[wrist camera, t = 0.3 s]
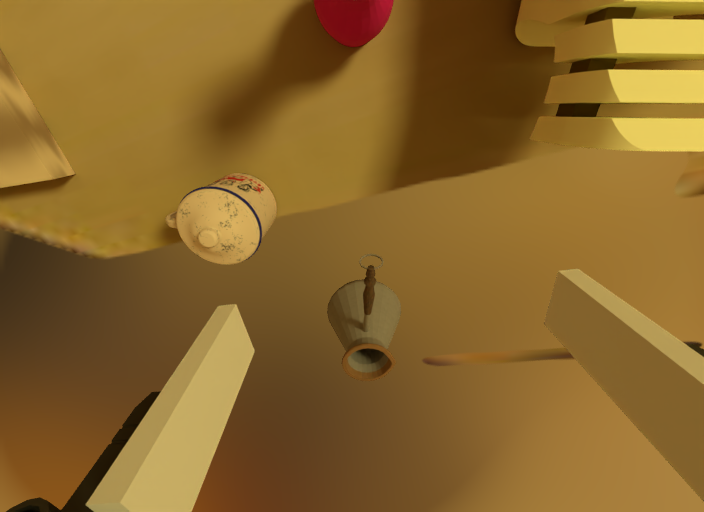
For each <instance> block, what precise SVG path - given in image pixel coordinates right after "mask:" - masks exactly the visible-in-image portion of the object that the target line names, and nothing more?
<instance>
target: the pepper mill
mask: <svg viewBox="0 0 704 512" xmlns="http://www.w3.org/2000/svg"><path fill="white" fill-rule="evenodd" d="M314 5H315V10H316V13H317V16H318V18H319V20H320V22H321V24H322V26H323V27H324V29H325V30H326V31H327V33H328V34H329V35H331V36H332V37H333V38H334V39H335V40H337V41H338V42H339V43H341V44H342V45H345V46H348V47H358V46H362V45H364V44H366V43H367V42H369V41H370V40H372V39H373V38H374V37H375V36H377V35H378V34H379V33H380V31H381V30H382V29H383V27H384V26H385V24H386V22H387V21H388V18H389V16H390V13H391V10H392V6H393V0H314Z"/></svg>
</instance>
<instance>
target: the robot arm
mask: <svg viewBox="0 0 704 512" xmlns="http://www.w3.org/2000/svg"><path fill="white" fill-rule="evenodd" d="M544 324H545V326H546V327H547V328H548V329H549V330H550V331H551V332H552V333H553V335H554V336H555V337H556V338H557V339H558V340H559V341H560V342H561V343H562V345H563V346H564V347H565V348H566V349H567V350H568V351H569V352H570V353H571V355H572V356H573V357H574V358H575V359H576V360H577V361H578V362H579V363H580V365H582V367H583V368H584V369H585V370H586V371H587V372H588V373H589V375H590V376H591V377H592V378H593V379H594V380H595V381H596V382H597V383H598V385H599V386H600V387H601V388H602V389H603V390H604V391H605V392H606V393H607V395H608V396H609V397H610V398H611V399H612V400H613V401H614V402H615V403H616V405H617V406H618V407H619V408H620V409H621V410H622V411H623V412H624V414H625V415H626V416H627V417H628V418H629V419H630V420H631V421H632V422H633V424H634V425H636V427H637V428H638V429H639V430H640V431H641V432H642V433H643V435H644V436H645V437H646V438H647V439H648V440H649V441H650V442H651V444H652V445H654V447H655V448H656V449H657V450H658V451H659V452H660V453H661V455H662V456H663V457H664V458H665V459H666V460H667V461H668V462H669V464H670V465H671V466H672V467H673V468H674V469H675V470H676V471H677V472H678V473H679V475H680V476H681V477H682V478H683V479H684V480H685V481H686V482H687V484H688V485H689V486H690V487H691V488H692V489H693V490H694V491H695V492H696V494H697V495H698V496H699V497H700V498H701V499H702V500H703V501H704V349H701V348H700V347H697V346H695V345H693V344H687V345H686V344H684V343H683V342H681V341H680V340H679V339H677V338H676V337H674V336H673V335H672V334H670V333H669V332H667V331H666V330H664V329H663V328H662V327H660V326H659V325H657V324H656V323H654V322H653V321H652V320H650V319H649V318H647V317H646V316H644V315H643V314H642V313H640V312H639V311H637V310H636V309H635V308H633V307H632V306H630V305H629V304H627V303H626V302H624V301H623V300H622V299H620V298H619V297H617V296H616V295H615V294H613V293H611V292H610V291H609V290H607V289H606V288H605V287H603V286H602V285H600V284H599V283H597V282H596V281H595V280H593V279H592V278H590V277H589V276H588V275H586V274H585V273H583V272H582V271H581V270H579V269H572V270H563V271H558V273H557V277H556V281H555V285H554V288H553V292H552V296H551V300H550V303H549V307H548V311H547V314H546V318H545V322H544ZM253 354H254V348H253V346H252V343H251V341H250V338H249V335H248V333H247V331H246V328H245V326H244V323H243V320H242V318H241V315H240V313H239V310H238V308H237V305H236V304H231V305H222V306H218V307H217V309H216V310H215V312H214V313H213V315H212V316H211V318H210V319H209V321H208V322H207V324H206V325H205V327H204V328H203V330H202V331H201V333H200V334H199V336H198V337H197V339H196V340H195V342H194V343H193V345H192V346H191V348H190V349H189V351H188V352H187V354H186V355H185V357H184V358H183V360H182V361H181V363H180V364H179V366H178V367H177V369H176V370H175V371H174V373H173V374H172V376H171V377H170V379H169V380H168V382H167V383H166V385H165V387H164V388H163V389H162V391H161V392H152V393H151V394H150V395H149V396H147V397H146V398H145V399H144V400H143V401H142V402H141V403H140V404H139V405H138V406H137V407H135V409H134V410H133V411H132V413H131V414H130V416H129V417H128V418H127V420H126V421H125V423H124V424H123V428H122V429H120V430H119V431H118V432H117V434H116V435H115V437H114V438H113V440H112V443H111V444H109V445H108V447H107V448H106V449H105V450H104V452H103V453H102V455H101V456H100V457H99V459H98V460H97V462H96V463H95V464H94V466H93V467H92V469H91V470H90V471H89V473H88V474H87V476H86V477H85V478H84V480H83V481H82V482H81V484H80V485H79V487H78V488H77V490H76V491H75V492H74V494H73V495H72V496H71V498H70V499H69V501H68V502H67V503H66V505H65V506H64V507H63V509H62V510H59V509H58V508H57V507H55V506H54V505H52V504H51V503H50V502H48V501H47V500H44V499H42V498H35V499H30V500H26V501H24V502H22V503H20V504H18V505H16V506H14V507H12V508H11V509H9V510H8V511H6V512H191V511H192V509H193V506H194V504H195V501H196V499H197V496H198V494H199V491H200V489H201V486H202V483H203V480H204V478H205V476H206V473H207V471H208V468H209V466H210V463H211V460H212V458H213V456H214V453H215V450H216V447H217V445H218V443H219V440H220V438H221V435H222V433H223V430H224V428H225V425H226V423H227V420H228V417H229V414H230V412H231V410H232V407H233V404H234V402H235V400H236V397H237V394H238V392H239V389H240V387H241V384H242V382H243V379H244V377H245V374H246V372H247V369H248V367H249V364H250V362H251V359H252V356H253Z"/></svg>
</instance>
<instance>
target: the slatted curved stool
mask: <svg viewBox="0 0 704 512" xmlns="http://www.w3.org/2000/svg"><path fill="white" fill-rule="evenodd" d="M694 14H704V0H521V5H520V9H519V14H518V18H517V23H516V27H515V33H516V37H517V38H518V40H519V41H520V42H521V43H523V44H525V45H527V46H542V47H555V56H554V63H572V66H571V69H570V72H569V74H565V75H559V76H553V77H551V79H550V83H549V87H548V91H547V94H546V97H545V100H544V104H559V107H558V111H557V114H556V116H539V117H538V120H537V122H536V125H535V127H534V130H533V132H532V134H531V137H530V139H529V140H534V141H540V142H546V143H552V144H558V145H566V146H574V147H585V148H596V149H611V150H612V149H613V150H631V151H704V118H634V117H596V114H597V112H598V109H599V106H600V104H704V70H613V69H614V66H615V63H632V62H649V61H676V60H704V20H679V19H673V17H674V16H677V15H694Z"/></svg>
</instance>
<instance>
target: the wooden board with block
mask: <svg viewBox="0 0 704 512" xmlns="http://www.w3.org/2000/svg"><path fill="white" fill-rule="evenodd" d="M74 174H75V172H74V171H73V169H72V167H71V166H70V164H69V162H68V161H67V159H66V157H65V156H64V154H63V152H62V151H61V149H60V147H59V146H58V144H57V142H56V141H55V139H54V137H53V136H52V134H51V133H50V131H49V129H48V128H47V126H46V124H45V123H44V121H43V119H42V118H41V116H40V114H39V113H38V111H37V109H36V108H35V106H34V104H33V103H32V101H31V99H30V98H29V96H28V94H27V93H26V91H25V89H24V88H23V86H22V84H21V83H20V81H19V79H18V78H17V76H16V74H15V73H14V71H13V69H12V68H11V66H10V64H9V63H8V61H7V59H6V58H5V56H4V55H3V53H2V51H1V50H0V188H3V187H9V186H15V185H21V184H28V183H34V182H40V181H46V180H52V179H57V178H61V177H65V176H70V175H74Z"/></svg>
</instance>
